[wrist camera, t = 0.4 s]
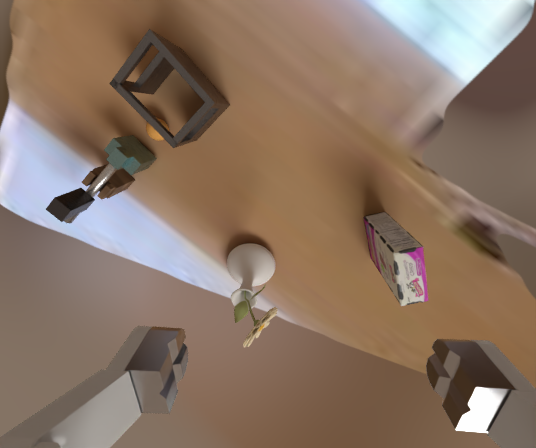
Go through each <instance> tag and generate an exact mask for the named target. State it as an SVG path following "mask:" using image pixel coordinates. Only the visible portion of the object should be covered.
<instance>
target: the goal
mask: <svg viewBox="0 0 536 448" xmlns="http://www.w3.org/2000/svg"><path fill="white" fill-rule="evenodd" d="M152 45H154V46H155V47H156V48H157V49H158V50H159V52H158V54H157V55H156V56H155V58H154V59H153V60H152V62H151V63H150V64H149V65H148V67H147V68H146V69H145V71H144V72H143V73H142V75H141V76H140V77H139V78H138V80H137V81H136V82H130V81H126V79H127V78H128V77H129V75H130V74H131V73H132V71H133V70H134V69H135V67H136V66H137V65H138V63H139V62H140V61H141V59H142V58H143V57H144V55H145V54H146V53H147V51H148V50H149V49H150V47H151V46H152ZM174 68H175V69H176V70H177V72H178V73H179V74H180V75H181V76H182V77H183V78H184V79H185V80H186V82H187V83H188V84H189V85H190V86H191V87H192V88H193V89H194V91H195V92H196V93H197V94H198V95H199V96H200V97H201V98H202V99H203V101H204V102H205V103H204V104H203V105H202V107H201V108H200V109H199V110H198V111H197V112H196V113H195V114H194V115H193V117H192V118H191V119H190V120H189V121H188V122H187V123H186V124H185V125H184V127H183V128H182V129H181V130H180V131H179V132H178V133H177V134H176V135H175V137H174V136H173V135H172V134H171V133H170V132H169V131H168V130H167V129H166V128H165V127H164V126H163V125H162V123H161V122H160V121H159V120H158V119H157V118H156V117H155V116H154V115H153V114H152V113H151V112H150V111H149V110H148V109H147V108H146V107H145V106H144V105H143V104H142V103H141V102H140V101H139V100H138V99H137V98H136V97H135V96H134V95H133V94H132V93H131V92H138V93H146V94H154V93H155V91H156V90H157V89H158V88H159V87H160V85H161V84H162V83H163V82H164V80H165V79H166V78H167V77H168V75H169V74H170V73H171V72H172V70H173V69H174ZM110 85H111V86H112V87H113V88H114V89H115V90H116V91H117V92H118V93H119V94H120V95H121V96H122V97H123V98H124V99H125V100H126V101H127V102H128V103H129V104H130V105H131V106H132V107H133V108H134V109H135V110H136V111H137V112H138V113H139V114H140V115H141V116H142V117H143V118H144V119H145V120H146V121H147V122H148V123H149V124H150V125H151V126H152V127H153V128H154V129H155V130H156V131H157V132H158V133H159V134H160V135H161V136H162V137H163V138H164V139H165V140H166V141H167V142H168V143H169V144H170V145H171V146H172V147H173V148H175V147H178V146H181V145H184V144H187V143H190V142H193V141H196V140H197V139H198V138H199V137H200V136H201V135H202V134H203V133H204V132H205V131H206V130H207V129H208V128H209V127H210V126H211V125H212V124H213V122H214V121H215V120H216V119H217V118H218V117H219V116H220V115H221V114H222V113H223V112H224V111H225V110H226V109H227V108H228V107H229V106H230V104H229V103H228V102H227V101H226V100H225V98H224V97H223V96H222V95H221V94H220V93H219V92H218V90H217V89H216V88H215V87H214V86H213V85H212V83H211V82H210V81H209V80H208V79H207V78H206V77H205V75H204V74H203V73H202V72H201V71H200V70H199V69H198V67H197V66H196V65H195V64H194V63H193V62H192V60H191V59H190V58H189V57H188V56H187V55H186V54H185V52H184V51H183V50H182V49H181V48H179V47H178V46H176V45H174V44H173V43H171V42H169V41H168V40H166V39H165V38H163V37H161V36H160V35H158V34H157V33H155V32H153V31H152V30H150V29H149V30H148V32H147V33H146V34H145V36H144V37H143V39H142V40H141V41H140V43H139V44H138V45H137V47H136V48H135V50H134V51H133V52H132V54H131V55H130V56H129V58H128V59H127V60H126V62H125V63H124V65H123V66H122V67H121V69H120V70H119V71H118V73H117V74H116V76H115V77H114V78H113V80H112V81H111V82H110ZM130 91H131V92H130Z"/></svg>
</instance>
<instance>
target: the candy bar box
mask: <svg viewBox="0 0 536 448" xmlns="http://www.w3.org/2000/svg"><path fill="white" fill-rule="evenodd" d="M364 222H365V228H366V233H367V238H368V244H369V250H370V256H371V259H372V261H373V262H374V264H375V265H376V267H377V269H378V270H379V272H380V273H381V275H382V276H383V278H384V279H385V281H386V283H387V284H388V286H389V287H390V289H391V291H392V292H393V294H394V295H395V297H396V298H397V300H398V302H399V303H400V305H401V306H405V305H409V304H414V303H418V302H425V301H428V300H429V296H428V288H427V278H426V267H425V257H424V247H423V246H422V245H421V244H420V243H419V242H418V241H417V240H416V239H415V238H413V237H412V236H411V235H410V234H409V233H408V232H407V231H406V230H405V229H403V228H402V227H401V226H400V225H399V224H398V223H397V222H396V221H395V220H394V219H393V218H391V217H390V216H389V215H388V214H387V213H386V212H382V213H378V214H374V215H370V216H366V217H364Z"/></svg>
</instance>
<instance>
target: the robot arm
mask: <svg viewBox="0 0 536 448" xmlns="http://www.w3.org/2000/svg"><path fill="white" fill-rule="evenodd" d="M185 337H186V336H185V331H184V329H181V328H166V327H148V326H138V327H136V328H135V329H134V330H133V331H132V332H131V334H130V335H129V337H128V338H127V340H126V341H125V342H124V344H123V345H122V347H121V348H120V350H119V351H118V353H117V354H116V356H115V357H114V358H113V360H112V361H111V363H110V364H109V366H108V367H107V368H106V370H100V371H98V372H97V373H95V374H94V375H92V376H91V377H89V378H88V379H86V380H85V381H83V382H82V383H80V384H79V385H77V386H76V387H74V388H73V389H71V390H70V391H68V392H67V393H65V394H64V395H63V396H61V397H59V398H58V399H56V400H55V401H53V402H52V403H50V404H49V405H48V406H46V407H44V408H43V409H41V410H40V411H38V412H37V413H35V414H34V415H32V416H31V417H29V418H28V419H27V420H25V421H24V422H22V423H20V424H19V425H18V426H16V427H14V428H13V429H12V430H10V431H9V432H7V433H6V434H4V435H3V436H1V437H0V448H110V447H111V446H112V445H113V444H114V443H115V442H116V441H117V440H118V439H119V438H120V437H121V436H122V435H123V434H124V432H125V431H126V430H127V429H128V428H129V427H130V426H131V425H132V424H133V423H134V422H135V421H136V420H137V419H138V418H139V417H140V416H141V413H166V414H168V413H170V411H171V408H172V405H173V403H174V400H175V398H176V395H177V393H178V390H177V383H178V382H179V381H180V380H181V379H182V378H183V376H184V373H185V371H186V366H187V362H188V349H187V346H186V345H185V344H184V343H183V342H184V339H185ZM432 349H433V350H434V352H435V353H434V354H433V355H432V356H430V357H429V358H428V361H427V365H426V368H427V376H428V379H429V382H430V384H431V386H432V388H433V390H434V391H435V392H436V393H438V394H439V395H440V396H441V397H442V398H443V403H442V406H443V408H444V410H445V412H446V413H447V415H448V417H449V419H450V420H451V422H452V424H453V426H454V428H455V430H461V431H473V432H485V433H488V434H487V435H488V436H489V437H490V438H491V439H492V440H493V441H494V442H496V443H497V444H498V445H499V446H500V447H501V448H536V389H535V388H534V387H533V386H532V385H531V383H530V382H529V381H528V380H527V379H526V378H525V377H524V376H523V375H522V374H521V373H520V372H519V370H518V369H517V368H516V367H515V366H514V365H513V364H512V363H511V362H510V361H509V360H508V358H507V357H506V356H505V355H504V354H503V353H502V352H501V351H500V350H499V349H498V348H497V347H496V345H495V344H493V343H492V342H490V341H483V340H455V339H437V340H436V341H435V342H434V344H433V346H432Z"/></svg>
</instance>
